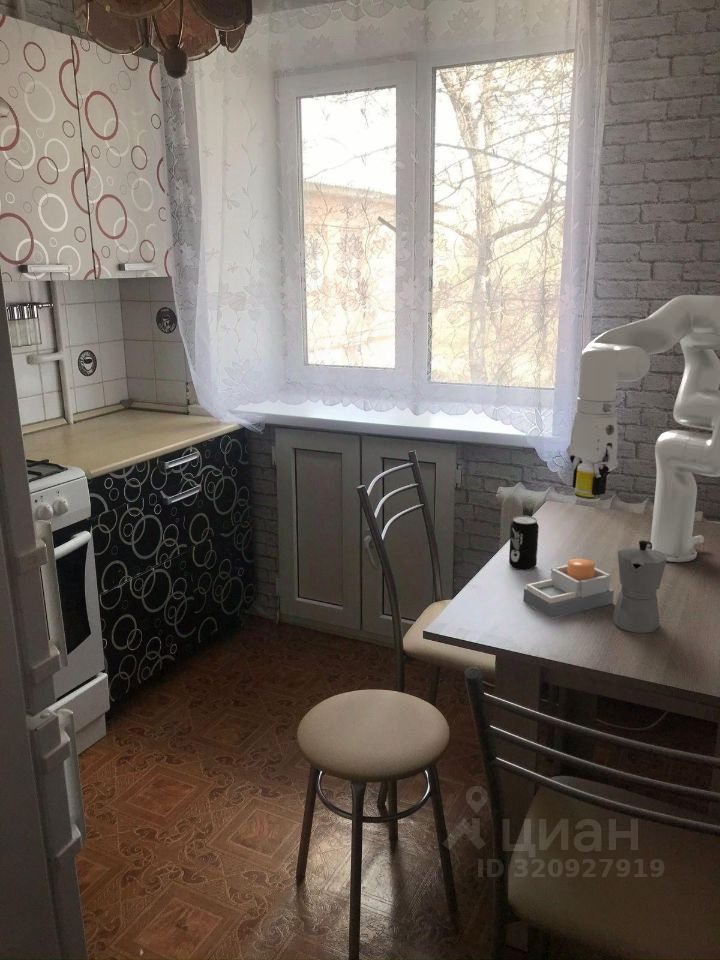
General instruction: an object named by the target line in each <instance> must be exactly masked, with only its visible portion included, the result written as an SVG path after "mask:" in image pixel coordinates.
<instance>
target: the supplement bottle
mask: <svg viewBox="0 0 720 960" xmlns="http://www.w3.org/2000/svg"><path fill="white" fill-rule="evenodd" d="M582 461H583V462H582V463H580V464H579V465H578V467H577V477H576V488H574V489H575V490H574V498H575V499H576V500H578V501H581V502H582V501H583V502H589V503H595V502H599V501H600V500H601V498H602V495H592V484H593V477H595V476H596V475H595V468H594V463H593V462H589V461H587V460H585V459H582ZM602 468H603V466H602V465H600V469H602Z"/></svg>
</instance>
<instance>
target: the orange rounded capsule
mask: <svg viewBox="0 0 720 960" xmlns="http://www.w3.org/2000/svg"><path fill="white" fill-rule="evenodd" d="M567 565H568V569H567V575H568V576H570V577H572V578H574V579H576V580H577V581H579V582H580V581H582V580H586V579H591V578H594V568H596V566H595V565H596V564H595V563H594V562H593V561H592V560H590V559H585V558H571V559H569V560H568V561H567ZM579 590H580V588H579Z"/></svg>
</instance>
